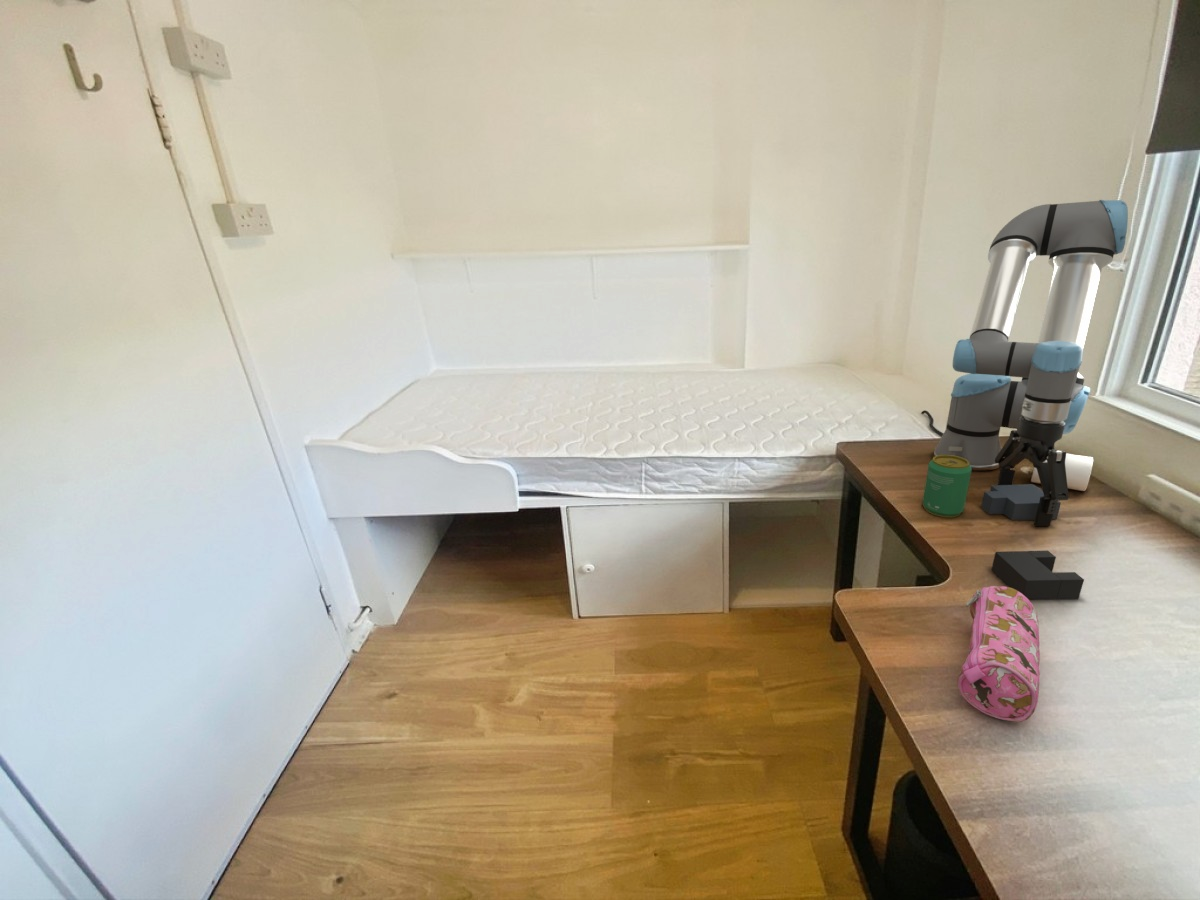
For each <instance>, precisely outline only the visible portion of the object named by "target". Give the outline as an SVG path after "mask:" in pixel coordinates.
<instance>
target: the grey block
mask: <svg viewBox="0 0 1200 900" xmlns="http://www.w3.org/2000/svg"><path fill="white" fill-rule="evenodd" d="M1043 496H1044V493H1043V490H1042V488H1041V487H1038V486H1037V485H1035V484H1033V483H1028V484H1027V483H1026V484H1025V483H1024V484H1012V485H995V484H994V485H990V488H989V491H988V490H987V491H983V495H982V500H981V505H980V508H981V509H982V510H983V511H985V513H987V514H988V515H1005V516H1006V517H1007V518H1008V519H1010V520H1011V521H1033V520H1034V521H1035V518H1036V513H1037V509H1038V505H1039V501H1040V497H1043ZM1061 505H1062V502H1061V500H1058V502H1057V506H1056V509H1055V513H1054V514H1053V516H1052V520H1057V519H1058V515H1059V512H1060V508H1061Z"/></svg>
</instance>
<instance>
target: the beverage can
mask: <svg viewBox="0 0 1200 900" xmlns="http://www.w3.org/2000/svg"><path fill="white" fill-rule="evenodd" d="M927 466H928V467H927V473H926V478H925V485H924V491H923V496H922V497H923V498H922V506H923V509H924V510H925V511H926V512H927V513H929V514H931V515H933V516H937V517H940V518H957V517H959V516H960V515H961V514H962V513H963V512H964V510H965V507H966V502H967V496H968V491H969V485H970V481H971V475H972V472H973V470H972V468H971V466H970V465H969V461H968V460H966V459H964V458H962V457H958V456H953V455H937V456H935V457H934V456H933V457H932V458H931V460H930V461H929V462H928V465H927Z"/></svg>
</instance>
